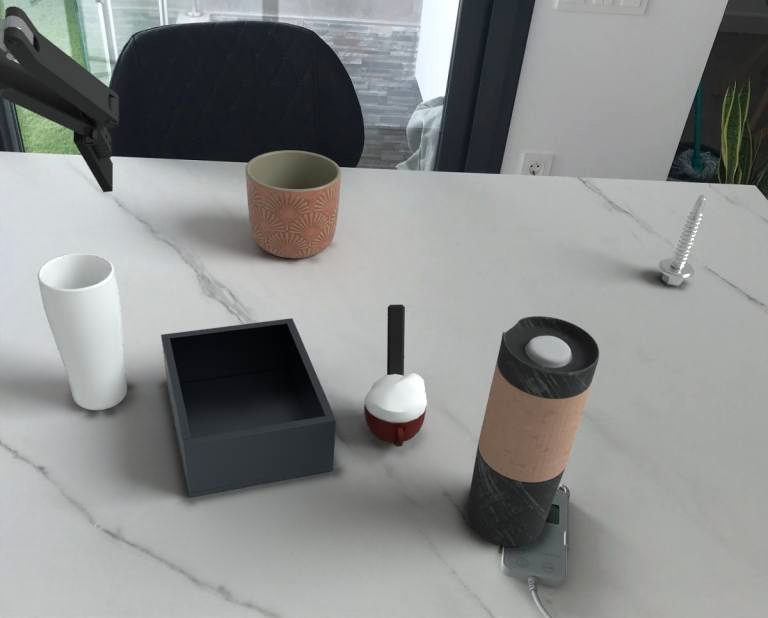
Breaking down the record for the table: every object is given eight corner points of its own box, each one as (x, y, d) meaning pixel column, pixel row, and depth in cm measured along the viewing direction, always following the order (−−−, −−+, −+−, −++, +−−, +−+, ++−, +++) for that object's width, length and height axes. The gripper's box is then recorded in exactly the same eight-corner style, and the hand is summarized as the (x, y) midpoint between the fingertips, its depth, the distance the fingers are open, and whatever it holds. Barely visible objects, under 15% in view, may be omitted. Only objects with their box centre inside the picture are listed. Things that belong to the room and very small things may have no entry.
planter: (346, 229, 112) (350, 157, 105) (326, 273, 102) (329, 196, 95) (263, 216, 113) (261, 144, 106) (235, 258, 103) (232, 181, 96)
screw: (667, 292, 105) (647, 273, 109) (696, 288, 107) (676, 270, 110) (699, 204, 97) (676, 187, 101) (730, 201, 99) (707, 185, 102)
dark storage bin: (167, 384, 82) (160, 334, 78) (292, 366, 86) (292, 317, 82) (189, 497, 70) (183, 445, 66) (333, 470, 75) (336, 419, 70)
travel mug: (555, 549, 69) (614, 375, 57) (471, 550, 68) (512, 373, 56) (535, 486, 75) (585, 315, 62) (457, 486, 74) (492, 313, 62)
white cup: (70, 424, 77) (40, 296, 67) (62, 382, 81) (32, 257, 72) (140, 409, 79) (120, 284, 70) (128, 370, 84) (108, 247, 74)
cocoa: (410, 466, 76) (424, 370, 68) (350, 450, 77) (356, 353, 69) (434, 407, 83) (448, 314, 75) (378, 393, 84) (387, 300, 77)
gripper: (-387, 36, 41) (-138, 241, 61) (83, -5, 43) (178, 210, 62) (-357, -67, 44) (-127, 162, 64) (85, -103, 45) (176, 133, 65)
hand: (24, 186), depth 63 cm, fingers open, 13 cm apart
